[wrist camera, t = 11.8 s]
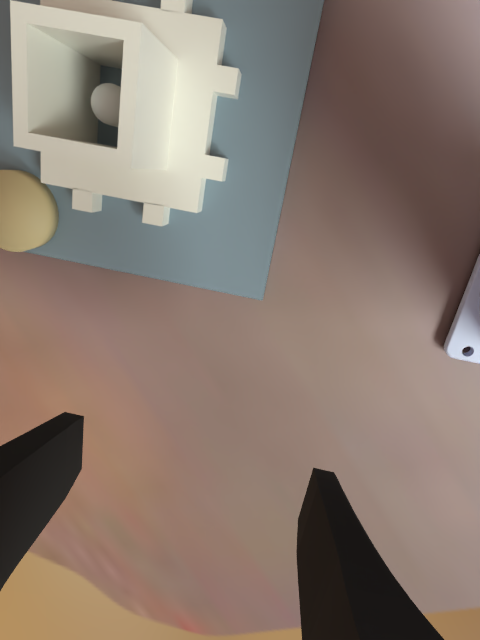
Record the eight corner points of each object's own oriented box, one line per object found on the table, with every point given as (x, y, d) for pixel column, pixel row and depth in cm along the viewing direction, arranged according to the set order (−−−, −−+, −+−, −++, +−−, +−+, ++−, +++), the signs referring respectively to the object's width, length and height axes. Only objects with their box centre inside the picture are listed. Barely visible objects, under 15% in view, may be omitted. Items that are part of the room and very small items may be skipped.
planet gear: (252, 5, 15) (235, -68, 11) (217, 233, 18) (192, 253, 14) (34, -31, 16) (-74, -116, 11) (35, 197, 19) (-49, 205, 14)
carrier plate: (336, -58, 15) (349, -127, 12) (263, 295, 20) (257, 321, 17) (-20, -114, 16) (-107, -194, 12) (-5, 241, 21) (-64, 254, 17)
